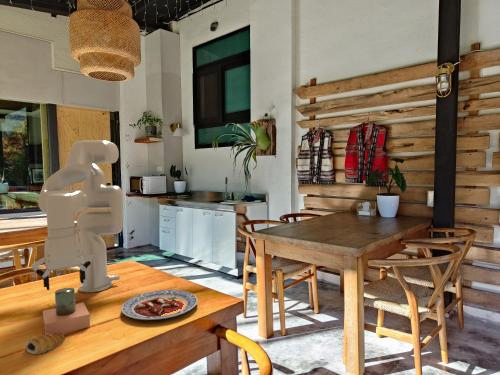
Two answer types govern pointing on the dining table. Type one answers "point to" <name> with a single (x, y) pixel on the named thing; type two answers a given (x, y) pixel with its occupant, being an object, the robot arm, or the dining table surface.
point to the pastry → (44, 342)
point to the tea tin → (65, 301)
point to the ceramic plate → (158, 304)
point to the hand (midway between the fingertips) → (65, 285)
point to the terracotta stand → (66, 320)
